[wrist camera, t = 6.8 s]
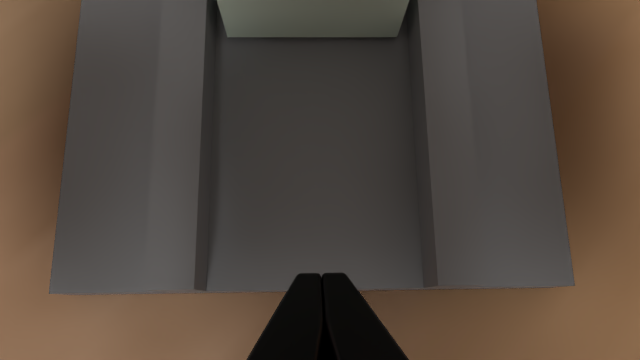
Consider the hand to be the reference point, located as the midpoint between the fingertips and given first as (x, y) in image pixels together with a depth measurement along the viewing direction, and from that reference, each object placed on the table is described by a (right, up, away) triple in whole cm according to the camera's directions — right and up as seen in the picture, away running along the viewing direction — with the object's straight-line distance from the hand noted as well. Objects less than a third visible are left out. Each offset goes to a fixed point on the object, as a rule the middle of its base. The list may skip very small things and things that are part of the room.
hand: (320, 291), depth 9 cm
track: (0, +6, +8) cm, 10 cm away
